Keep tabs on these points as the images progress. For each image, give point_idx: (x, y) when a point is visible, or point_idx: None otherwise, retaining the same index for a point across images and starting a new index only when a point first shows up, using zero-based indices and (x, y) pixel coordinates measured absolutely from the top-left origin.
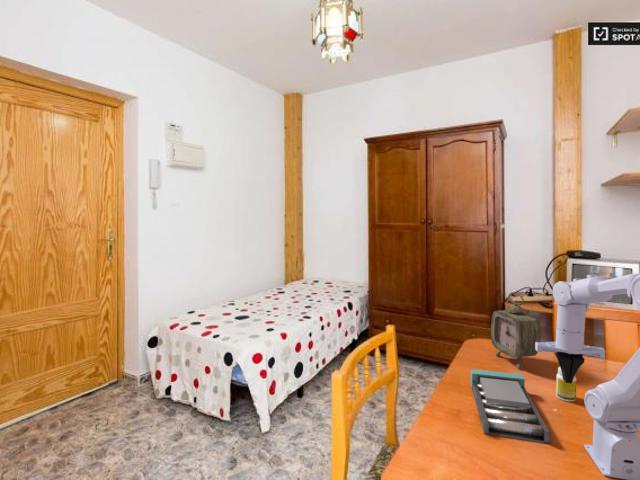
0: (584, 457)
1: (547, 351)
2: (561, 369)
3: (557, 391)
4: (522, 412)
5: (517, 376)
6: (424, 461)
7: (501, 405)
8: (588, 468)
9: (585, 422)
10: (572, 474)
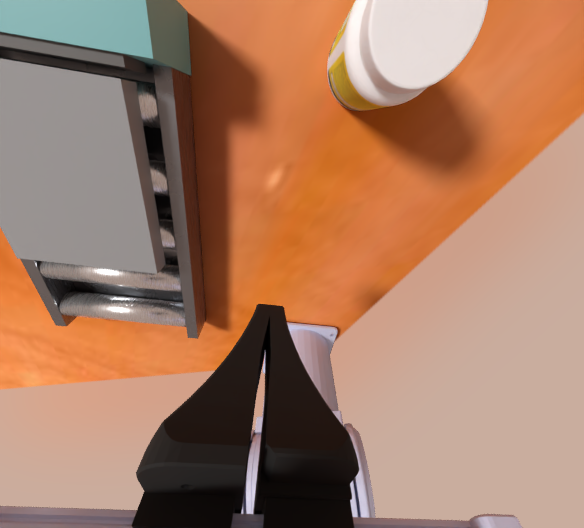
0: None
1: (59, 521)
2: (243, 337)
3: (331, 67)
4: None
5: (111, 12)
6: (4, 371)
7: None
8: None
9: (327, 238)
10: None
